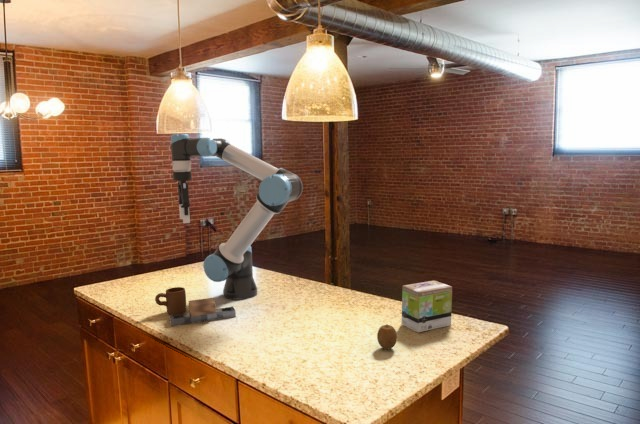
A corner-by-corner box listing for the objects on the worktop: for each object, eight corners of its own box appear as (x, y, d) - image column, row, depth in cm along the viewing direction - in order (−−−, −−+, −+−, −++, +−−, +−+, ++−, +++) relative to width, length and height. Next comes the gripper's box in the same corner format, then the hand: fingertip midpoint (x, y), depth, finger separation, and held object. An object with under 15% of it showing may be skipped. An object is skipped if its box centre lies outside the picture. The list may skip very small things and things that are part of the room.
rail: (233, 312, 187) (232, 306, 186) (235, 316, 182) (235, 310, 182) (169, 322, 178) (169, 315, 178) (170, 326, 173) (170, 319, 173)
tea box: (419, 334, 161) (419, 292, 159) (401, 324, 170) (401, 285, 168) (452, 325, 168) (452, 285, 166) (433, 317, 177) (433, 279, 175)
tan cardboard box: (213, 315, 185) (212, 297, 184) (216, 320, 178) (215, 302, 178) (189, 318, 182) (188, 300, 181) (191, 324, 175) (190, 306, 174)
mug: (159, 319, 181) (158, 295, 180) (153, 314, 187) (151, 291, 186) (189, 312, 188) (188, 289, 187) (182, 308, 194) (181, 285, 193)
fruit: (383, 354, 145) (383, 329, 144) (373, 347, 151) (373, 323, 150) (400, 350, 148) (400, 326, 147) (390, 343, 153) (390, 319, 152)
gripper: (170, 170, 208) (173, 218, 211) (175, 172, 185) (178, 225, 188) (187, 170, 211) (190, 216, 214) (194, 171, 188) (197, 224, 191)
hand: (184, 221), depth 201 cm, fingers open, 13 cm apart
